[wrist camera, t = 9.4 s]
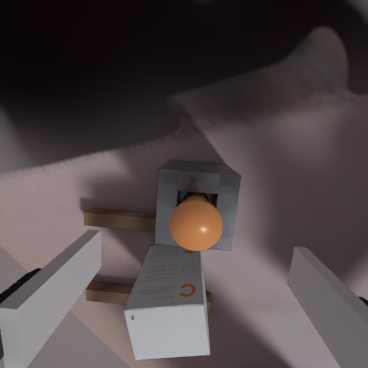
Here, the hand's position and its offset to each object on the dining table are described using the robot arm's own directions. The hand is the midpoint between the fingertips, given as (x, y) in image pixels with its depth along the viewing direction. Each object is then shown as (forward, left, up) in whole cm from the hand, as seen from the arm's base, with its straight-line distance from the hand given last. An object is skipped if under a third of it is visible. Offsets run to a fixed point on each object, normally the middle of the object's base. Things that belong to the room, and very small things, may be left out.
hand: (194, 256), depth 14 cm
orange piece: (0, -1, -11) cm, 11 cm away
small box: (+2, +12, -18) cm, 21 cm away
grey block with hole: (0, 0, -18) cm, 18 cm away
